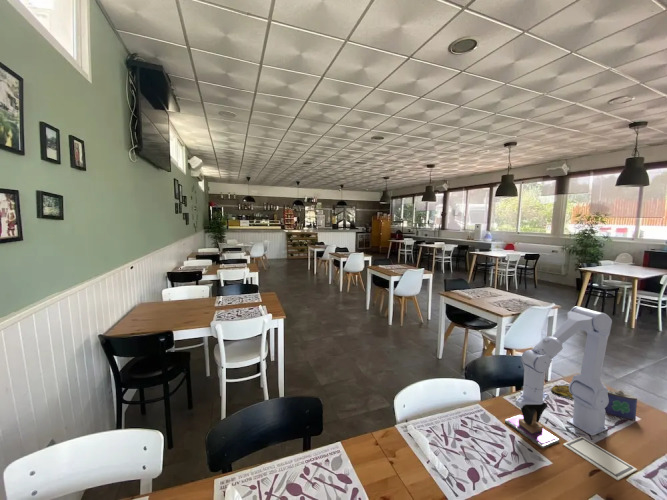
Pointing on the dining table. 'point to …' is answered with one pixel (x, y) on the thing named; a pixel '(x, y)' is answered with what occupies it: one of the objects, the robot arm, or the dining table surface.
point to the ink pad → (538, 438)
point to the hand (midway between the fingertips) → (531, 421)
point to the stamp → (533, 427)
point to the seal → (562, 391)
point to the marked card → (600, 458)
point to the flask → (621, 405)
